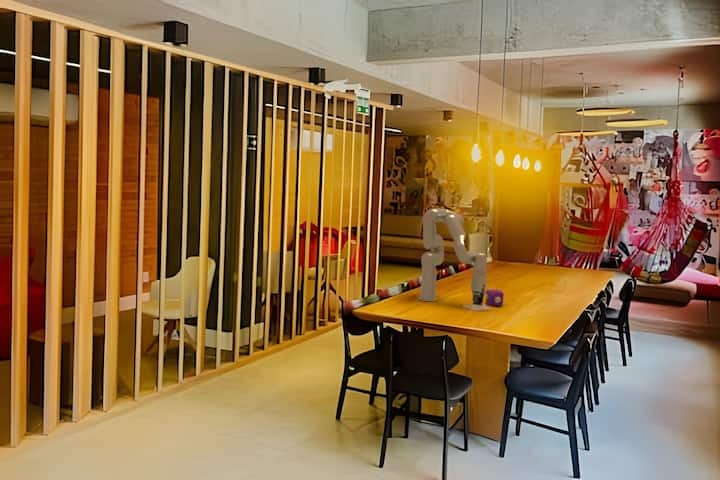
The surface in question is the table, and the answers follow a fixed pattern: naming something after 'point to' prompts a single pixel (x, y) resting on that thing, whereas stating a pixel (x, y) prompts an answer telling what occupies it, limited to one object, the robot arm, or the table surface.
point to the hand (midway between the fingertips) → (477, 301)
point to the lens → (476, 298)
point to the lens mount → (477, 307)
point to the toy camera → (494, 297)
